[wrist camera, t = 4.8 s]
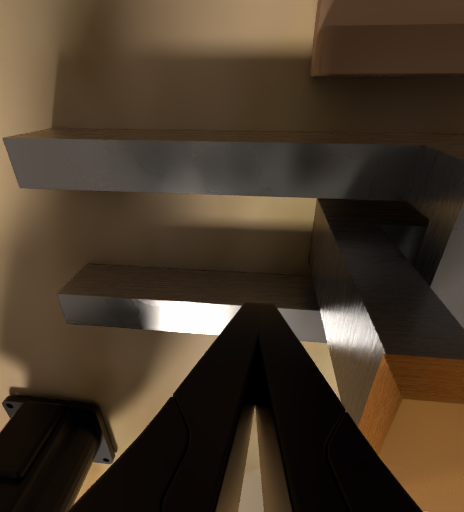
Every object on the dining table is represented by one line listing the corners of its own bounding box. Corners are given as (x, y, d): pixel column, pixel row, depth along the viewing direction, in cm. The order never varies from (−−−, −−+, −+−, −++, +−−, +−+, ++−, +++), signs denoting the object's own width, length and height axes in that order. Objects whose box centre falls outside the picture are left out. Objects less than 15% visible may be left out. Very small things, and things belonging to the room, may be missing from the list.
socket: (428, 312, 14) (500, 412, 10) (94, 291, 15) (27, 370, 11) (500, 135, 10) (669, 170, 6) (50, 128, 12) (-77, 153, 7)
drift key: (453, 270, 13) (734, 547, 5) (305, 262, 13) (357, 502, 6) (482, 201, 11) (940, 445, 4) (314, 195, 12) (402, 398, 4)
